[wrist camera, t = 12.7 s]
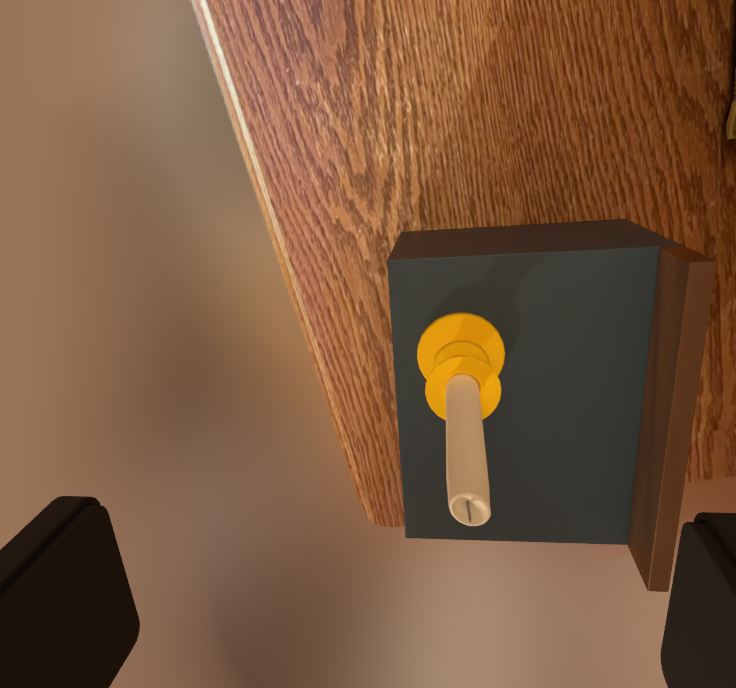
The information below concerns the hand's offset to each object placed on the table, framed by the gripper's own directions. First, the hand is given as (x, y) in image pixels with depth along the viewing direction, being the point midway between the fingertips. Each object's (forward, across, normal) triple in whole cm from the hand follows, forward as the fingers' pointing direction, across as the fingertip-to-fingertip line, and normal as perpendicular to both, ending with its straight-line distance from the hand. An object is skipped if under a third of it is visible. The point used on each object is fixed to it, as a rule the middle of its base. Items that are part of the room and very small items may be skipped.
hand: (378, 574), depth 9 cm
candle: (+24, -2, +6) cm, 25 cm away
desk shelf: (+34, -6, +10) cm, 36 cm away
